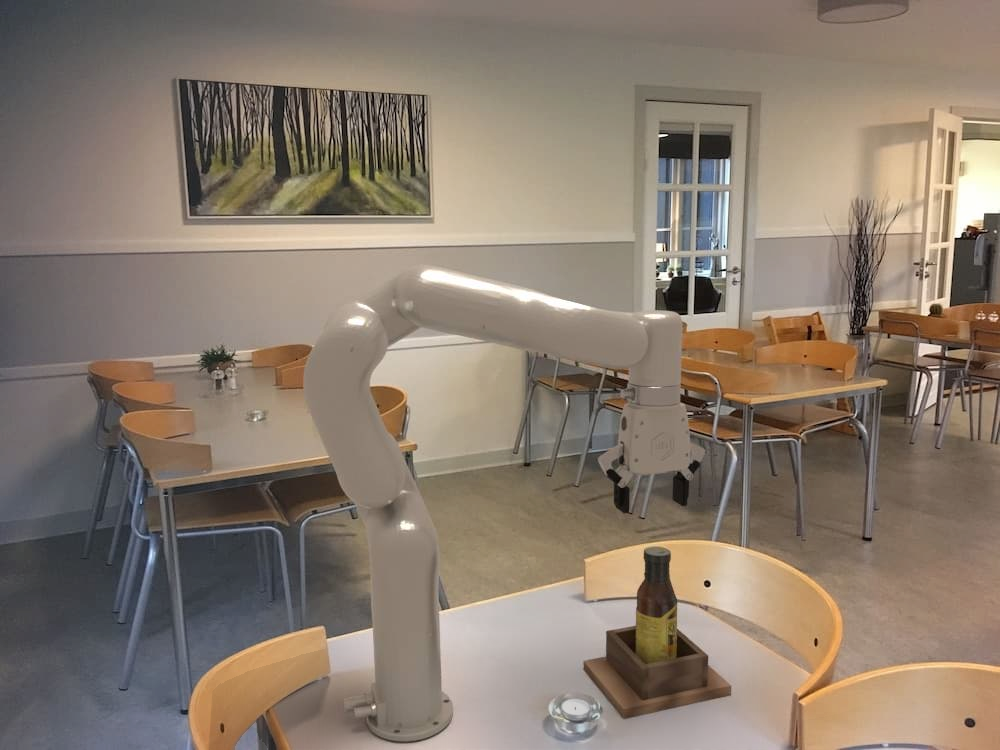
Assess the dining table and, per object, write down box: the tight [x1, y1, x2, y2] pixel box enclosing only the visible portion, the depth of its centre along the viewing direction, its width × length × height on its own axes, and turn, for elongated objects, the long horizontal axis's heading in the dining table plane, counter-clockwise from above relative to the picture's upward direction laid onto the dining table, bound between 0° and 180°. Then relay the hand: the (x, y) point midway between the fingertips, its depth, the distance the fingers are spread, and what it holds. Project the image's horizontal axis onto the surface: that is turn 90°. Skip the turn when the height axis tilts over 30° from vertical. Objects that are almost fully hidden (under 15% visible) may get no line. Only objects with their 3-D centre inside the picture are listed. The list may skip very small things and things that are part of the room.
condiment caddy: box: [583, 625, 732, 719], centre depth 121 cm, size 18×14×6 cm
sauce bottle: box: [635, 546, 678, 664], centre depth 119 cm, size 7×6×20 cm
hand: (651, 506), depth 117 cm, fingers open, 9 cm apart
